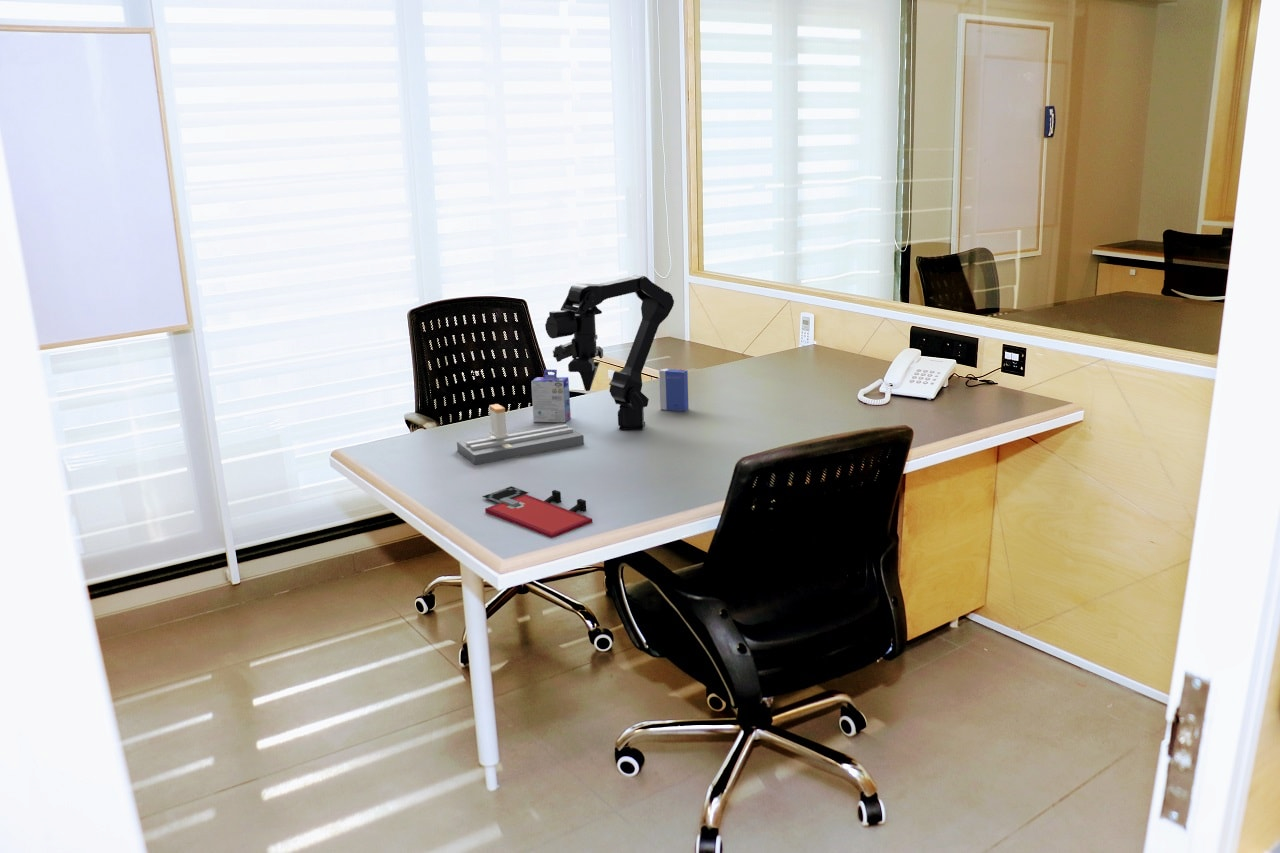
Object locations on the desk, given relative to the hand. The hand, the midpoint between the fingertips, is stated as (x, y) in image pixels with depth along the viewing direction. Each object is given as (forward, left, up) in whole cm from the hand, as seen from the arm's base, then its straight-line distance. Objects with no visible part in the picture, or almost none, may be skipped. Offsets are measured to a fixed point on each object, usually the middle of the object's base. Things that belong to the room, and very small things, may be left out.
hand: (587, 390), depth 275 cm
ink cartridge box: (+14, -17, -13) cm, 26 cm away
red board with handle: (+3, +54, -14) cm, 56 cm away
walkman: (-20, -28, -13) cm, 37 cm away
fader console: (+17, +9, -13) cm, 23 cm away
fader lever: (+22, +12, -10) cm, 27 cm away
